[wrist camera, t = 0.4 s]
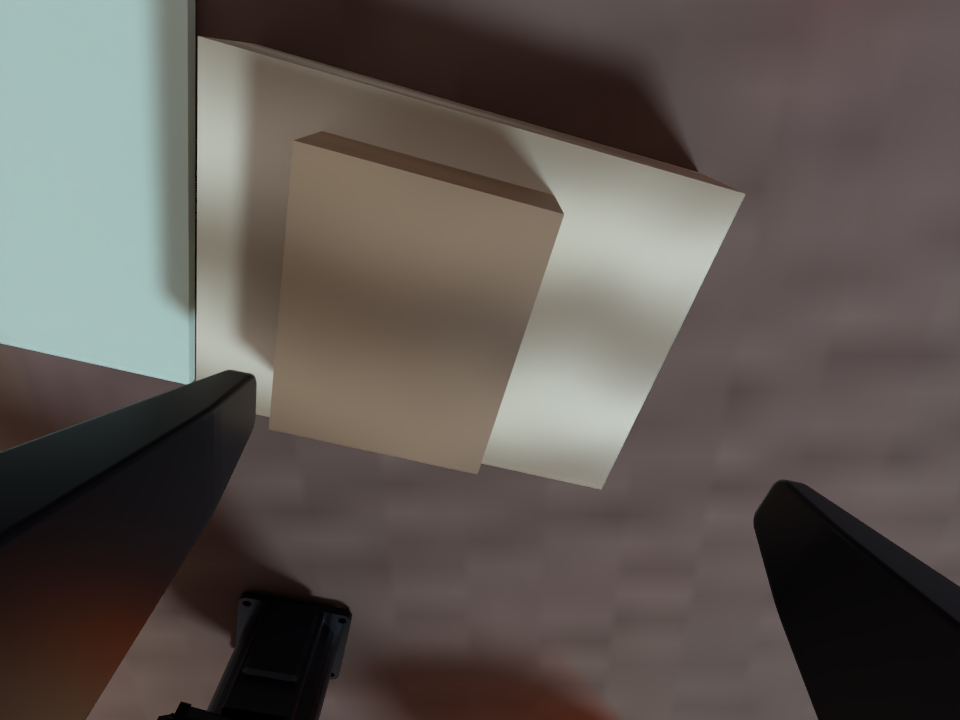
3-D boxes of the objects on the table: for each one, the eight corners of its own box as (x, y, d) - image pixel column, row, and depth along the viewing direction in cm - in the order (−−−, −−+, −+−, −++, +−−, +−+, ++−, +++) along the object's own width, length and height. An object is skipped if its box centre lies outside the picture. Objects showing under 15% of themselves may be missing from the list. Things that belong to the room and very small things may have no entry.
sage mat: (194, 379, 24) (188, 384, 23) (-91, 315, 23) (-103, 320, 22) (195, -47, 16) (187, -51, 16) (-230, -177, 15) (-251, -184, 15)
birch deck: (585, 430, 25) (601, 489, 21) (241, 351, 23) (196, 401, 20) (699, 172, 19) (745, 193, 16) (256, 44, 18) (197, 35, 14)
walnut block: (478, 430, 20) (477, 474, 18) (294, 389, 19) (268, 429, 17) (554, 195, 16) (564, 214, 14) (322, 131, 15) (293, 140, 13)
